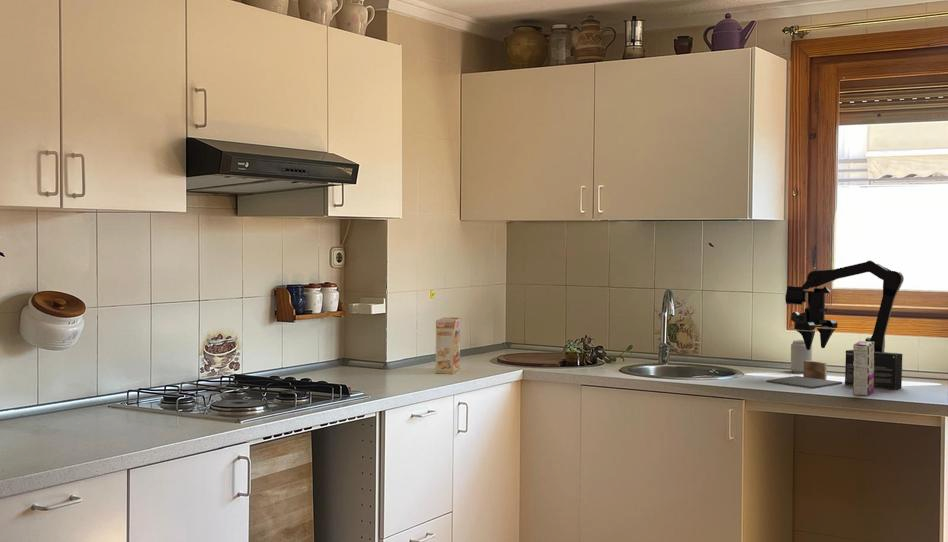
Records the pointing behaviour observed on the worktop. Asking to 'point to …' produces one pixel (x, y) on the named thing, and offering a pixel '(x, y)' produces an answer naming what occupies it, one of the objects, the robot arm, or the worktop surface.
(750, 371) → the worktop surface
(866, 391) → the candy bar box
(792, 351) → the can
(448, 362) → the coffeecake box
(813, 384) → the mat
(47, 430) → the worktop surface
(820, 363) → the tile
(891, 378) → the box
